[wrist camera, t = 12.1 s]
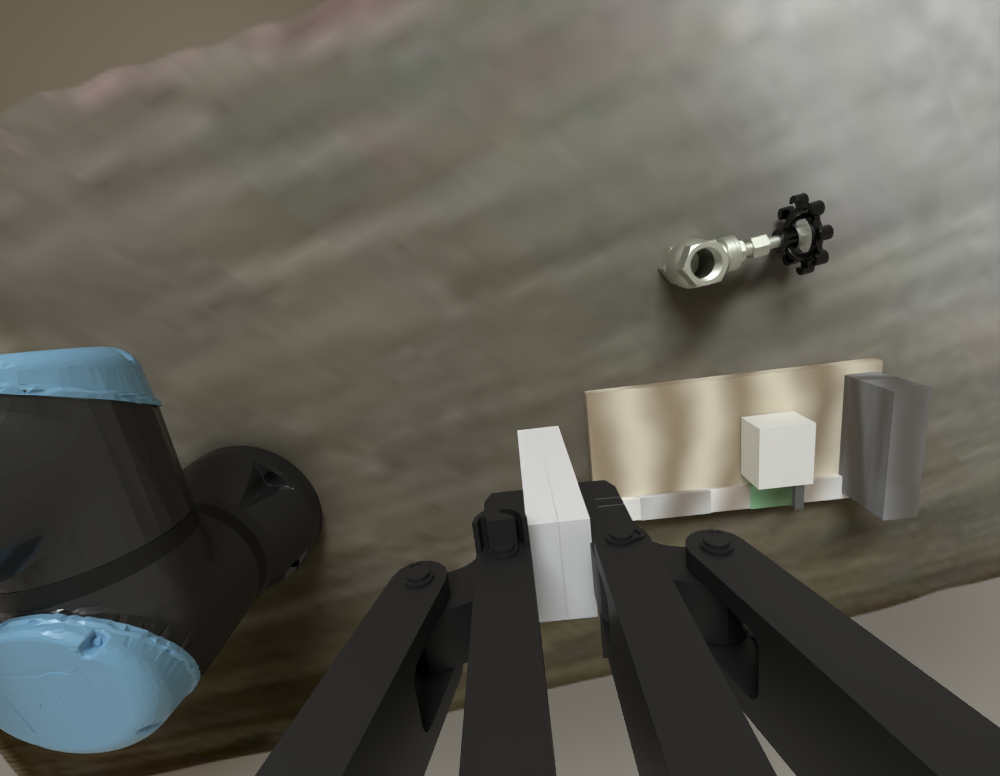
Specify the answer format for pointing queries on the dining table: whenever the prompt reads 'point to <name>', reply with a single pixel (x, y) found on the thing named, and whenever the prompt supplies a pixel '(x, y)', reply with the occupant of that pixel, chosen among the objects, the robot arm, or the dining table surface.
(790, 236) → the valve
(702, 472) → the board
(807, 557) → the dining table surface
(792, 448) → the white rectangular block
